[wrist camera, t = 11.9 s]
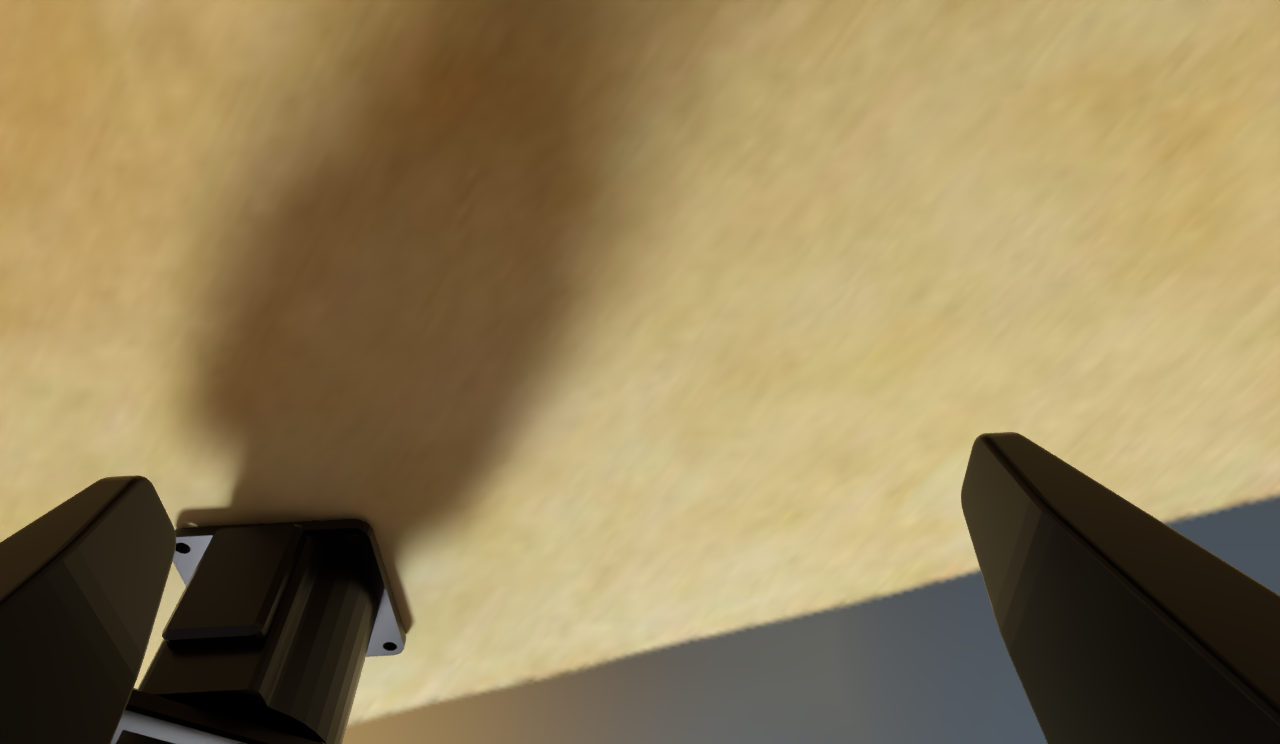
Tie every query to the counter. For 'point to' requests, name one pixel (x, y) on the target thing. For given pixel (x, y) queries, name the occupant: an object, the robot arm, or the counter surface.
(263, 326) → the counter surface
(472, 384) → the counter surface
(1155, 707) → the robot arm
